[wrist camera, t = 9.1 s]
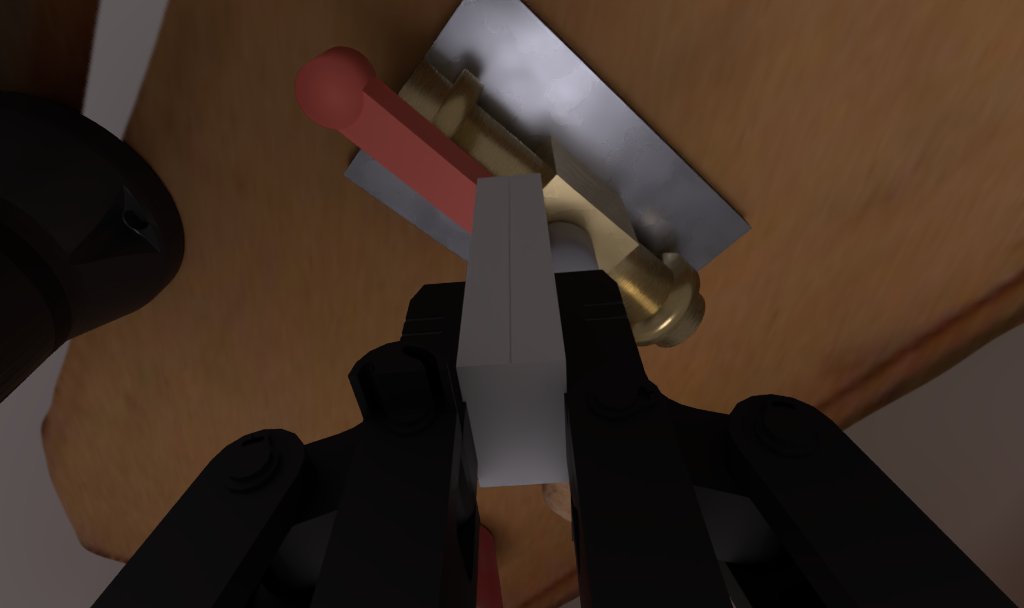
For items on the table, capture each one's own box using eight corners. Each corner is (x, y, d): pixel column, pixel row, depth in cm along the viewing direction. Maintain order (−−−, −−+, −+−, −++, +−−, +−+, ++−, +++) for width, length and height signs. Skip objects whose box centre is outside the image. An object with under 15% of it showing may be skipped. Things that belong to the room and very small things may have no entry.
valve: (349, 165, 33) (311, 219, 27) (487, -35, 27) (478, -23, 21) (593, 339, 41) (607, 411, 35) (743, 217, 35) (791, 278, 29)
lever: (559, 292, 29) (564, 332, 26) (301, 88, 23) (270, 112, 20) (608, 251, 28) (618, 289, 25) (345, 20, 21) (318, 35, 19)
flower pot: (393, 519, 56) (372, 616, 48) (489, 502, 54) (485, 600, 47) (430, 568, 62) (417, 661, 54) (518, 554, 60) (518, 649, 52)
